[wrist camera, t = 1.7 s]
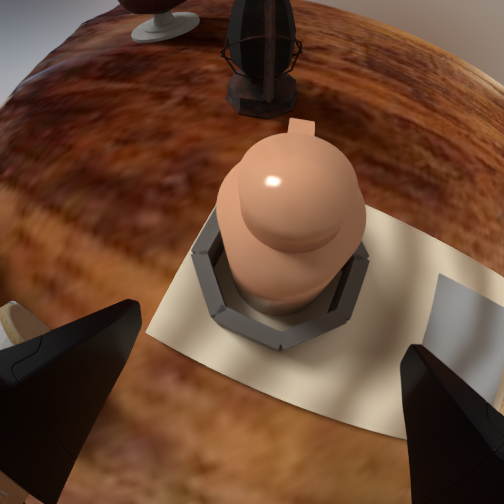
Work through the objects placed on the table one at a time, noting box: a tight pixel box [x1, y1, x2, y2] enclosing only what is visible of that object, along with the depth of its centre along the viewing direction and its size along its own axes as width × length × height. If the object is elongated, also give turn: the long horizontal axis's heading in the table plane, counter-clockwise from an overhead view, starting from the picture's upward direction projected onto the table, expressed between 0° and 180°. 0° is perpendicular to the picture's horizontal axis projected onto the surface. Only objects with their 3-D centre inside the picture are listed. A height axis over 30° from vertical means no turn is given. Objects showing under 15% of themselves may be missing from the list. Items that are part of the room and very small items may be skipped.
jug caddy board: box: [146, 204, 504, 440], centre depth 18 cm, size 30×16×4 cm, turn 65°
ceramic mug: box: [0, 301, 51, 350], centre depth 16 cm, size 11×8×8 cm
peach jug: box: [216, 118, 366, 316], centre depth 16 cm, size 9×6×11 cm
